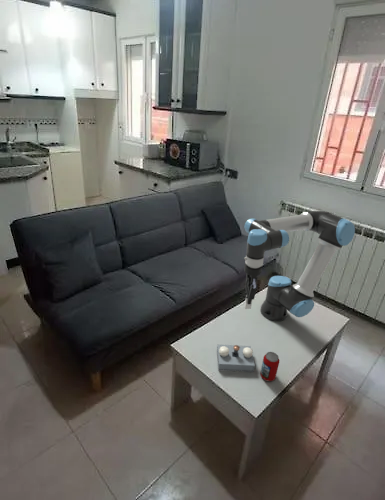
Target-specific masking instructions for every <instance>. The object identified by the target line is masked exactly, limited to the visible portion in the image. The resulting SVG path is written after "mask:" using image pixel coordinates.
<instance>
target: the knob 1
mask: <svg viewBox="0 0 385 500" xmlns="http://www.w3.org/2000/svg"><path fill="white" fill-rule="evenodd" d="M219 354H220V355H221V356H223V357H226V356H228V354H229V349H228V348H227V347H225V346H222V347H220V349H219Z"/></svg>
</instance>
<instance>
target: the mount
mask: <svg viewBox="0 0 385 500" xmlns="http://www.w3.org/2000/svg"><path fill="white" fill-rule="evenodd" d="M234 345H235V344H217V345H216V357H217V369H218V371H225V372H248V373H253V372H255V367H256V365H255V361H254V356H253V355H254V354H252V357H250V358H245V356H243V349H244V348H246V347H248V348H251V349H252V346H251V345H240V344H239V345H238V346H239V347H240V349H239V350H238V354H237V355H234V349H233V347H234ZM222 346H225V347H227V348H228V349H229V354H228V356H226V357H223V356H221V355H220V354H219V349H220V347H222Z"/></svg>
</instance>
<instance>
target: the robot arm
mask: <svg viewBox="0 0 385 500" xmlns="http://www.w3.org/2000/svg"><path fill="white" fill-rule="evenodd" d="M243 227H244V231H245V232H246V233H247V234H248V235H247V236H248V237H247V241H246V243H247V244H246V254H245V257H243V259H244V260H245V261H244V262H245V263H244V268H243V269H244V270H243V271H244V273H245V287H244V289H245V290H244V291H245V300H244V301H245V302H244V309H245V310H247V309H248V310H250V309H252V303H253V300H255V297H256V294H257V292H256V291H257V289H258V287H259V286H258V284H257V282H258V276H260V275H261V274H262V272H263V265H264V260H265V253H266V252H268V251H273V250H276V249H281V248H283V247H286V246H287V245H288V244H289V242H290V235H289V233H291V232H295V231H297V232H298V231H304V232H307V231H311V232H314V233H316V234H318V235H319V236H318V244H317V246H316V248H315V249H314V252H313V253H312V256H311V257H310V259H309V261H308V262H307V265H306V267H305V268H304V270H303V272H302V273H301V275H300V277H299V279H298V280H297V283H295V284H292V280H291V278H289V277H287V276H285V275H274V276H271V277H270V278H269V281H268V284H267V290H266V295H265V299H264V300H263V303H262V304H261V305H260V314H261V315H262V316H263V317H264V318H266V319H267V320H270V321H273V322H274V321H275V322H280V321H283V320H285V319H286V318H287V317H288V312H289V314H291V315H293V316H294V317H296V318H302V317H305V316H306V315H308V314H310V313H311V312H312V310H313V309H314V306H315V301H314V300H313V299H314V297H315V295H314V290H315V289H316V286H317V285H318V284H319V282H320V280H321V278H322V277H323V275H324V273H325V271H326V269H327V267H328V265H329V264H330V262H331V260H332V259H333V257H334V255H335V254H336V251H337V250H341V249H342V247H343V246H344V247H345V246H348V245H349V244H350V243H351V242H353V241H352V240H353V239H354V236H355V233H356V229H355V228H356V227H355V224H354V223H353V222H352V221H351V220H349V219H347V218H344V217H341V216H338V215H336V214H333V213H331V212H329V211H324V210H311V211H303V212H302V213H300V214H296V215H289V216H283V217H277V218H269V219H262V220H261V219H260V220H258V219H257V218H254V217H253V218H248V219H247V220H246V222H245V223H244V226H243Z"/></svg>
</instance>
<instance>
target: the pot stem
mask: <svg viewBox="0 0 385 500" xmlns="http://www.w3.org/2000/svg"><path fill="white" fill-rule="evenodd" d="M233 345H234V347H233V349H234V355H237V354H238V350H239V349H240V347H239V346H238V345H237V344H233Z"/></svg>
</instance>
